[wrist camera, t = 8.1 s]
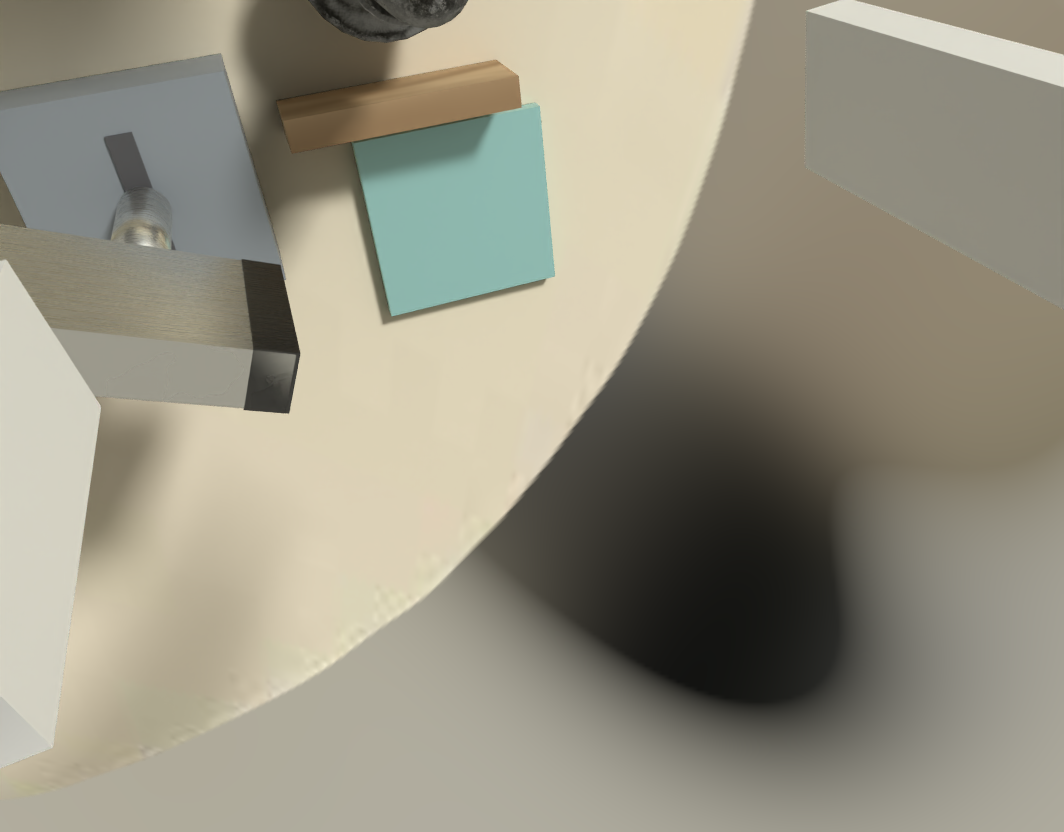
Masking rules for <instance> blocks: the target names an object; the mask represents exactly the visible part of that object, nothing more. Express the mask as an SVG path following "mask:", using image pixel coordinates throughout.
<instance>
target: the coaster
mask: <svg viewBox="0 0 1064 832" xmlns="http://www.w3.org/2000/svg"><path fill="white" fill-rule="evenodd" d="M352 146H353V151H354V155H355V160H356V164H357V169H358V173H359V178H360V182H361V187H362V191H363V196H364V200H365V204H366V209H367V213H368V218H369V222H370V227H371V231H372V236H373V240H374V245H375V249H376V254H377V258H378V263H379V267H380V272H381V276H382V281H383V285H384V289H385V294H386V298H387V303H388V307H389V311H390V314H391V316H395V315H400V314H404V313H408V312H412V311H416V310H420V309H424V308H428V307H432V306H436V305H440V304H444V303H448V302H452V301H457V300H461V299H465V298H469V297H473V296H477V295H481V294H485V293H489V292H493V291H497V290H501V289H505V288H510V287H514V286H518V285H522V284H526V283H530V282H534V281H538V280H542V279H546V278H550V277H554V276H555V271H554V260H553V249H552V238H551V227H550V216H549V205H548V193H547V182H546V171H545V160H544V149H543V138H542V127H541V116H540V106H539V105H537V104H536V103H531V104H526V105H522V108H518V109H513V110H508V111H503V112H498V113H493V114H488V115H483V116H478V117H473V118H468V119H463V120H458V121H453V122H448V123H443V124H438V125H433V126H428V127H423V128H418V129H413V130H408V131H403V132H398V133H393V134H388V135H383V136H378V137H373V138H368V139H363V140H358V141H353V142H352Z"/></svg>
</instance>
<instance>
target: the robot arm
mask: <svg viewBox="0 0 1064 832" xmlns="http://www.w3.org/2000/svg"><path fill="white" fill-rule="evenodd" d="M805 168H807V169H809V170H811V171H813V172H814V173H816V174H818V175H820V176H822V177H824V178H825V179H827V180H829V181H831V182H832V183H834V184H836V185H838V186H840V187H842V188H843V189H845V190H847V191H849V192H851V193H853V194H854V195H856V196H858V197H860V198H862V199H863V200H866V201H867V202H869V203H871V204H872V205H874V206H876V207H878V208H880V209H882V210H883V211H885V212H887V213H889V214H891V215H893V216H894V217H896V218H898V219H900V220H902V221H904V222H905V223H907V224H909V225H911V226H913V227H914V228H916V229H918V230H920V231H922V232H923V233H925V234H927V235H929V236H931V237H933V238H934V239H936V240H938V241H940V242H942V243H944V244H945V245H947V246H949V247H951V248H953V249H955V250H956V251H958V252H960V253H962V254H963V255H965V256H967V257H969V258H971V259H973V260H974V261H976V262H978V263H980V264H982V265H984V266H985V267H987V268H989V269H991V270H993V271H994V272H996V273H998V274H1000V275H1002V276H1004V277H1006V278H1007V279H1009V280H1011V281H1013V282H1015V283H1017V284H1018V285H1020V286H1022V287H1024V288H1025V289H1027V290H1029V291H1031V292H1033V293H1034V294H1036V295H1038V296H1040V297H1042V298H1044V299H1045V300H1047V301H1049V302H1051V303H1053V304H1055V305H1057V306H1058V307H1060V308H1062V309H1064V55H1062V54H1058V53H1055V52H1050V51H1047V50H1043V49H1039V48H1035V47H1031V46H1027V45H1024V44H1020V43H1016V42H1012V41H1008V40H1004V39H1001V38H997V37H993V36H989V35H985V34H982V33H977V32H974V31H970V30H966V29H962V28H958V27H955V26H951V25H947V24H943V23H939V22H935V21H931V20H928V19H924V18H920V17H916V16H912V15H908V14H905V13H901V12H897V11H893V10H889V9H885V8H882V7H878V6H874V5H870V4H866V3H862V2H858V1H855V0H839V1H836V2H833V3H830V4H826V5H823V6H820V7H817V8H813V9H810V10H807V11H806V82H805ZM100 412H101V406H100V404H99V402H98V401H97V399H96V398H95V396H94V395H93V393H92V392H91V390H90V389H89V387H88V385H87V384H86V382H85V381H84V379H83V378H82V376H81V375H80V373H79V371H78V370H77V368H76V367H75V365H74V364H73V362H72V361H71V359H70V358H69V356H68V354H67V353H66V351H65V350H64V348H63V347H62V345H61V344H60V342H59V340H58V339H57V337H56V336H55V334H54V333H53V331H52V330H51V328H50V327H49V325H48V323H47V322H46V320H45V319H44V317H43V316H42V314H41V313H40V311H39V309H38V308H37V306H36V305H35V303H34V302H33V300H32V299H31V297H30V296H29V294H28V292H27V291H26V289H25V288H24V286H23V285H22V283H21V282H20V280H19V278H18V277H17V275H16V274H15V272H14V271H13V269H12V268H11V266H10V265H9V263H8V261H7V260H6V259H5V260H2V261H0V768H3V767H5V766H8V765H10V764H13V763H15V762H18V761H21V760H23V759H26V758H28V757H31V756H33V755H36V754H38V753H41V752H43V751H46V750H48V749H51V748H53V744H54V737H55V730H56V723H57V716H58V709H59V702H60V695H61V688H62V681H63V674H64V666H65V659H66V652H67V645H68V638H69V631H70V624H71V617H72V610H73V603H74V596H75V589H76V582H77V575H78V568H79V560H80V553H81V546H82V539H83V532H84V525H85V518H86V511H87V504H88V497H89V490H90V483H91V476H92V469H93V462H94V455H95V447H96V440H97V433H98V426H99V419H100Z"/></svg>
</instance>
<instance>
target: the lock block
mask: <svg viewBox="0 0 1064 832" xmlns="http://www.w3.org/2000/svg"><path fill="white" fill-rule="evenodd" d="M0 172H1V175H2V177H3V179H4V181H5V183H6V185H7V187H8V189H9V191H10V193H11V195H12V198H13V200H14V202H15V204H16V206H17V208H18V210H19V212H20V214H21V216H22V218H23V220H24V223H25V225H26V227H27V228H31V229H38V230H45V231H51V232H58V233H64V234H71V235H78V236H84V237H91V238H97V239H104V240H111V236H112V231H113V225H114V220H115V215H116V209H117V204H118V201H119V199H120V197H121V196H122V195H123V194H124V193H125V192H126V191H128V190H129V189H132V188H135V187H148V188H152V189H154V190H156V191H158V192H160V193H161V194H163V195H164V196H165V197H166V198H167V200H168V201H169V203H170V205H171V208H172V241H171V250H177V251H183V252H190V253H196V254H203V255H209V256H216V257H223V258H229V259H236V260H242V259H246V260H252V261H259V262H265V263H272V264H279V265H281V269H282V273H283V278H284V280H286V278H285V273H284V269H283V265H282V260H281V256H280V251H279V248H278V244H277V241H276V238H275V234H274V231H273V228H272V224H271V221H270V217H269V214H268V211H267V207H266V204H265V201H264V197H263V194H262V190H261V187H260V184H259V180H258V177H257V174H256V170H255V167H254V163H253V160H252V157H251V153H250V150H249V147H248V143H247V140H246V137H245V133H244V130H243V126H242V123H241V120H240V116H239V113H238V110H237V106H236V103H235V99H234V96H233V93H232V89H231V86H230V83H229V79H228V76H227V72H226V69H225V66H224V62H223V59H222V56H221V54H215V55H209V56H204V57H198V58H192V59H186V60H180V61H175V62H169V63H163V64H157V65H151V66H146V67H140V68H134V69H128V70H123V71H117V72H111V73H105V74H99V75H94V76H88V77H82V78H76V79H71V80H65V81H59V82H53V83H47V84H42V85H36V86H30V87H24V88H18V89H13V90H7V91H1V92H0Z"/></svg>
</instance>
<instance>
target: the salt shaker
mask: <svg viewBox="0 0 1064 832" xmlns="http://www.w3.org/2000/svg"><path fill="white" fill-rule="evenodd" d="M309 1H310V3H311V4H312V5H313V6H314V7H315V9H316V10H317V11H318V12H319V13H320V15H321V16H322V17H323V18H324V19H326V20H327V21H328V22H330V23H331V24H332V25H334V26H335V27H336V28H338V29H339V30H341V31H342V32H344V33H346V34H349V35H351V36H354V37H357V38H359V39H362V40H364V41H374V42H384V43H387V42H393V41H398V40H404V39H408V38H410V37H412V36H414V35H416V34H418V33H420V32H422V31H424V30H426V29H427V28H432V27H438V26H441V25H443V24H445V23H447V22H449V21H451V20H452V19H454V18H455V17H456V16H457V15H458V14H459V13H460V12H461V11H462V9H463V8H464V6H465V5H466V3H467V1H468V0H309Z"/></svg>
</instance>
